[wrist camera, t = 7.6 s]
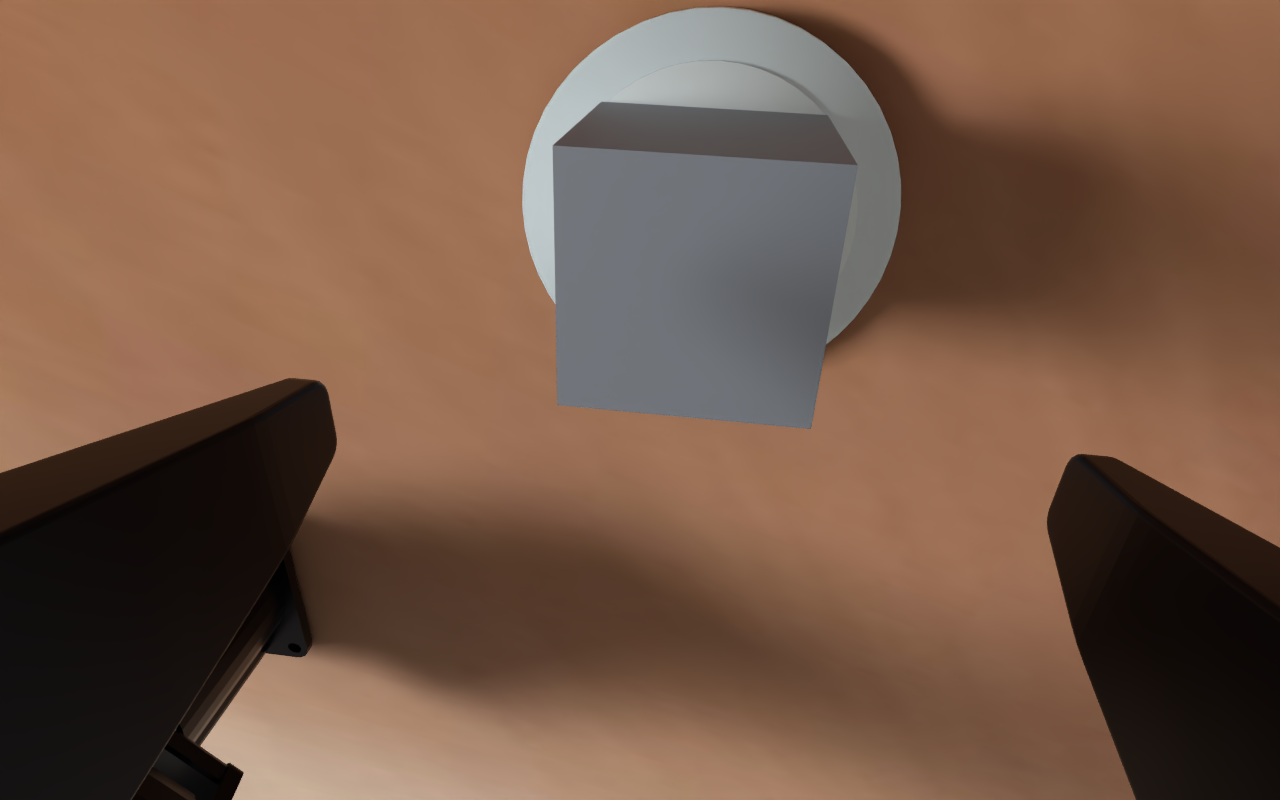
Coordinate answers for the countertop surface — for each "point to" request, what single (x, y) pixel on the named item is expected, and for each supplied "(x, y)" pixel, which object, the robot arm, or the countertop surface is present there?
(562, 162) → the block
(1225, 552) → the robot arm
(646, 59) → the dish
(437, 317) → the countertop surface
